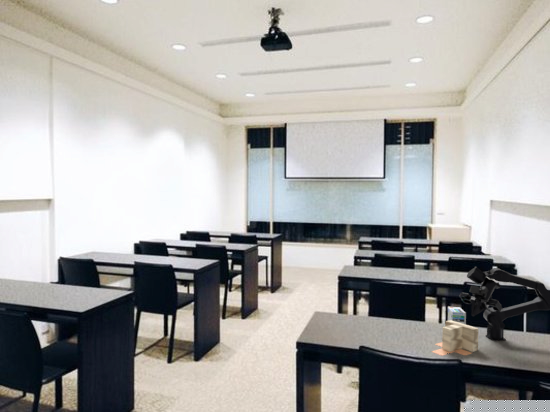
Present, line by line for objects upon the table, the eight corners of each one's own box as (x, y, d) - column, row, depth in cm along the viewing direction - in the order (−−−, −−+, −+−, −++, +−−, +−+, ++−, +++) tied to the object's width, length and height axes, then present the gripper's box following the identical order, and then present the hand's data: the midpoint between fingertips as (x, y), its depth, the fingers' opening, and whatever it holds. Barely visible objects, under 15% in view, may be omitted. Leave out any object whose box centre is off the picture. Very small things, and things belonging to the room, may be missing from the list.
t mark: (441, 342, 185) (441, 342, 185) (472, 353, 172) (472, 353, 172) (421, 348, 178) (421, 347, 178) (452, 360, 165) (452, 359, 165)
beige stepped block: (450, 340, 187) (450, 320, 187) (478, 350, 175) (478, 328, 175) (432, 345, 181) (433, 324, 181) (460, 355, 169) (460, 332, 169)
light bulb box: (466, 333, 198) (466, 312, 197) (452, 332, 199) (452, 311, 199) (460, 326, 208) (460, 306, 208) (447, 326, 209) (447, 306, 209)
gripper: (461, 276, 195) (447, 301, 190) (498, 283, 179) (484, 310, 174) (470, 290, 199) (457, 314, 194) (508, 297, 183) (494, 324, 178)
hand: (472, 315), depth 185 cm, fingers closed
